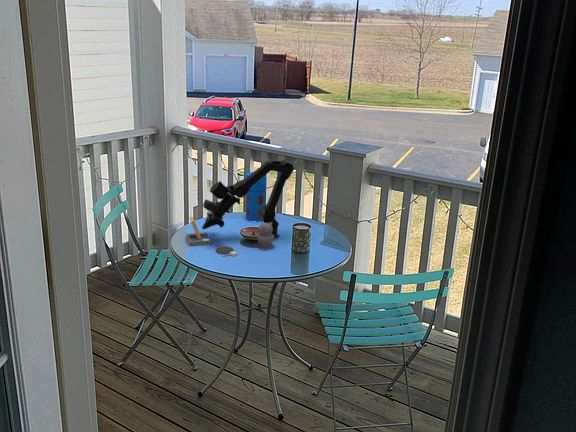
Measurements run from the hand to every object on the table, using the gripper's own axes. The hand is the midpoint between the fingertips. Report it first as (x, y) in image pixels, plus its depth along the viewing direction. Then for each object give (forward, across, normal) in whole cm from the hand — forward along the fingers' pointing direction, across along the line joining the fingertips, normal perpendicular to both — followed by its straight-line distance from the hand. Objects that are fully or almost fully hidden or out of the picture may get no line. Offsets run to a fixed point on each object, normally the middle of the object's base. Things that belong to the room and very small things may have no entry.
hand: (202, 228), depth 265 cm
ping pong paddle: (-1, +16, +11) cm, 19 cm away
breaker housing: (+7, 0, +3) cm, 7 cm away
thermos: (-18, -27, +29) cm, 44 cm away
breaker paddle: (+5, 0, +3) cm, 6 cm away
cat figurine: (-14, +12, +25) cm, 31 cm away
